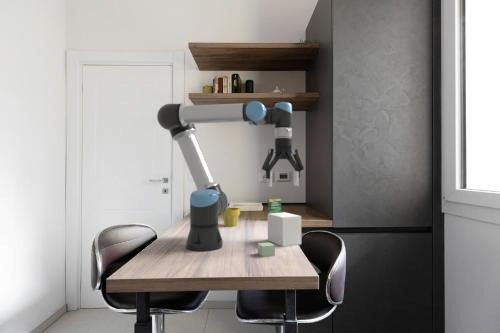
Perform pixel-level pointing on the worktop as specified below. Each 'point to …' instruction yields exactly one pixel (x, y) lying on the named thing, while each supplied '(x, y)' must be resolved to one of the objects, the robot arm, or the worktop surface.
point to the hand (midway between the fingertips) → (283, 186)
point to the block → (266, 249)
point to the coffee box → (274, 206)
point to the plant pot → (231, 216)
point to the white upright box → (284, 229)
